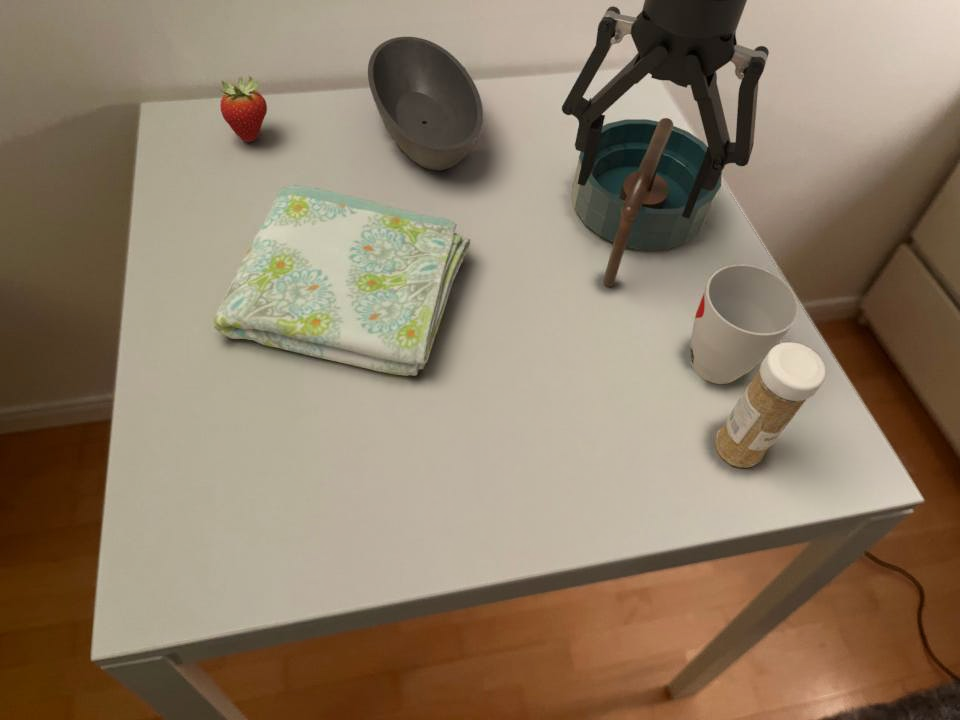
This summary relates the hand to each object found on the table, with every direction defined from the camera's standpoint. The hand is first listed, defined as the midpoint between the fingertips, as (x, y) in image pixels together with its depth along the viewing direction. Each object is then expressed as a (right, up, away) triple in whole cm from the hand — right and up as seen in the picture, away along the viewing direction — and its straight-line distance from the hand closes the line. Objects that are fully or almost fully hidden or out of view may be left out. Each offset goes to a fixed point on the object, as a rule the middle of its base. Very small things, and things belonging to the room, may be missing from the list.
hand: (636, 192), depth 73 cm
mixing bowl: (+3, +1, +13) cm, 13 cm away
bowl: (-22, +11, +18) cm, 31 cm away
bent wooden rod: (+1, -3, +9) cm, 9 cm away
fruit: (-43, +10, +15) cm, 47 cm away
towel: (-29, -10, +3) cm, 31 cm away
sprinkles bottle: (+8, -25, -5) cm, 27 cm away
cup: (+8, -17, 0) cm, 19 cm away
